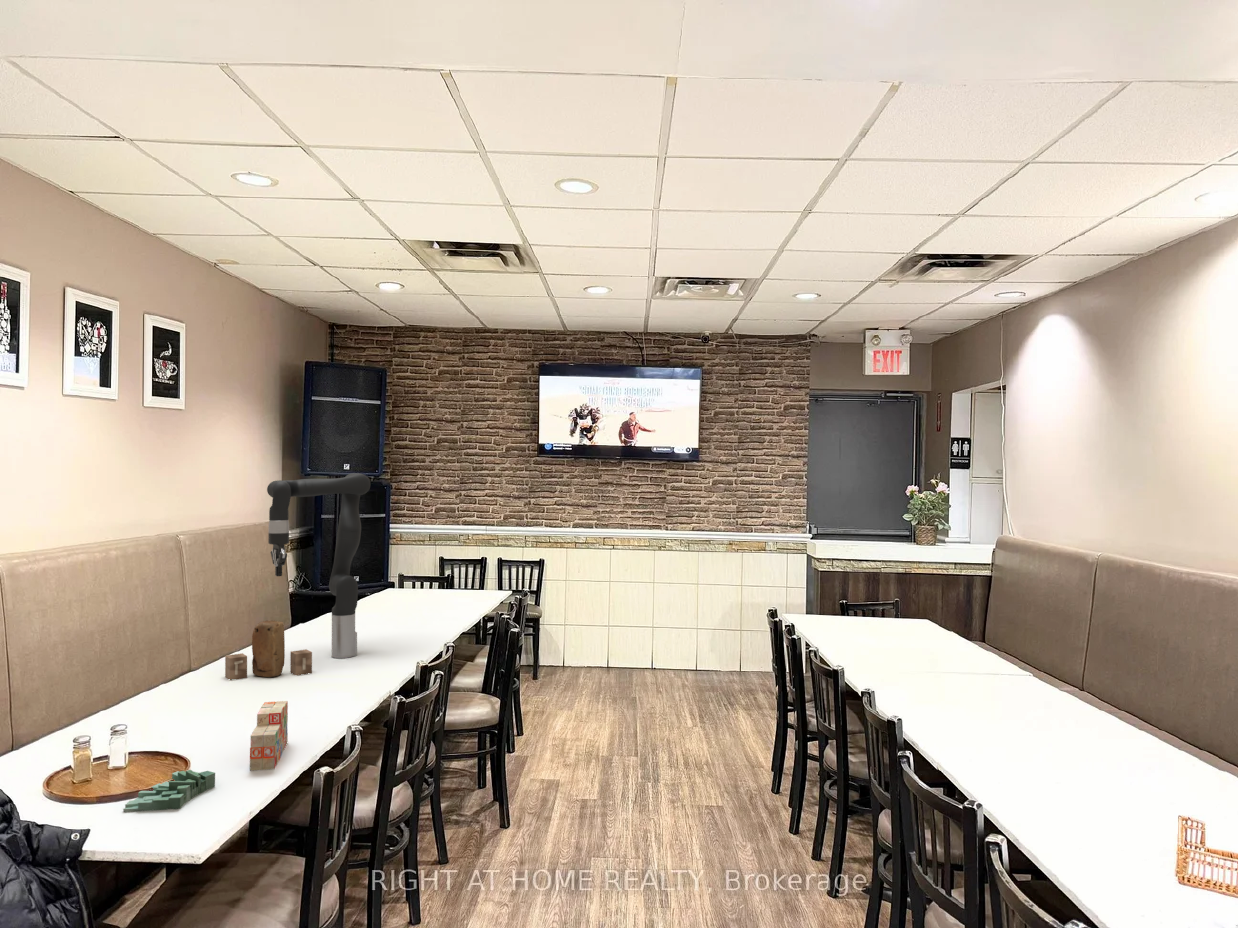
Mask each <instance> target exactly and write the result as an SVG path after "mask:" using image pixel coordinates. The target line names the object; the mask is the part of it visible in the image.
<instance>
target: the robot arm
mask: <svg viewBox="0 0 1238 928" xmlns="http://www.w3.org/2000/svg"><path fill="white" fill-rule="evenodd" d="M370 488H371V479H370V478H369V477H368V476H367V475H365V474H363V473H358V472H357V473H356V472H354V473H353V472H352V473H349V474H346V476H345V477H338V478H337V477H336V478H303V479H295V480H292V479H291V480H290V479H289V480H288V479H287V480H286V479H285V480H284V479H283V480H274V481H271V482H270V483H269V484H268V485H267V488H266V492H267V494H268V496H270V497H271V498H272V504H271V505H270V507H269V509H268V512H269V513H268V514H269V515H268V533H267V534H268V544H269V545H272V548H271V550H270V557H271V560H272V565H273V566H274V567H275V568H274V570H275V571H274V573H275V574H274V576H275V577H282V576H283V567H284V566H285V564H286V560H287V558H288V553H287V552H286V548H285V547H286V546H285V545H288V544H290V520H289V517H290V516H289V513H290V512H289V507H290V504H291V498H292V497H293V498H294V497H297V498H304V497H305V498H306V497H307V498H308V497H316V496H324V495H334V494H335V495H336V494H337V495H338V494H341V507H340V512H339V518H338V519H339V521H338V527H337V533H336V542H335V543H336V544H335V551H334V559H333V564H332V569H331V574H330V577H329V584H328V589H329V591H330V593H331V594H332V595H333V596H335V604H334V606H333V607H332V608H331V658H334V659H335V658H336V659H347V658H348V659H349V658H352V657H355V656H358V632H357V631H356V610H357V607H358V596H359V595H358V593H359V586H358V582H357V580H356V578H355V577H354V576H352V575H350V572H351V564H352V561H353V558H354V556H355V555H356V553H357V550H358V549H359V547H360V546H359V545H360V542H361V535H362V533H361V532H362V522H361V517H360V510H359V508H360V507H359V506H360V505H359V504H360V498H361V496H363V495H366V493H367V492H369V491H370Z"/></svg>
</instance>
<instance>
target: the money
mask: <svg viewBox="0 0 1238 928" xmlns="http://www.w3.org/2000/svg"><path fill="white" fill-rule="evenodd" d="M172 779H174V780H175V781H169V780H168V781H169V782H167V781H164V782H159V783H156V784H154V785H151V787H150V789H151V788H153V789H154V790H153V791H149V790H140V791H139V792H137V793H138V794H137V795H138V797H136V798H134V800H133V799H132V800H129V801H128V802H126V803H125V804H124V808H122V810H123V812H124V813H134V812H141V811H142V812H143V811H145V812H149V811H165V810H181V808H182V807H183V806H184V805H185V804H186V803H188V802H189V801H190V800H191V799H193V798H195V797H196V796H198V795H200V794H202V793H204V792H206V791H209V790H211V789H213V788H216V772H214V771H210V770H206V771H201V772H198V771H193V770H192V769H188V770H181V771H178V770H177V771H175V772H172V773H171V780H172ZM160 783H162V784H160Z"/></svg>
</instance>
